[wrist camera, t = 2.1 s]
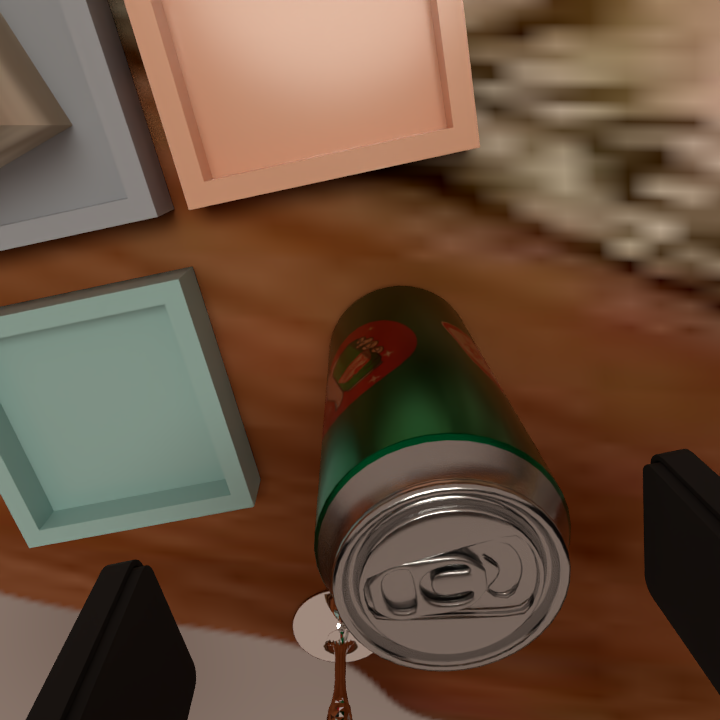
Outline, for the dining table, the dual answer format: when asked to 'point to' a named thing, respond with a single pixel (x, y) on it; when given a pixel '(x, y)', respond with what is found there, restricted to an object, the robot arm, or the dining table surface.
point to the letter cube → (24, 101)
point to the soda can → (432, 493)
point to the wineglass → (328, 645)
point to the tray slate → (80, 131)
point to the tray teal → (117, 412)
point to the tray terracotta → (303, 88)
